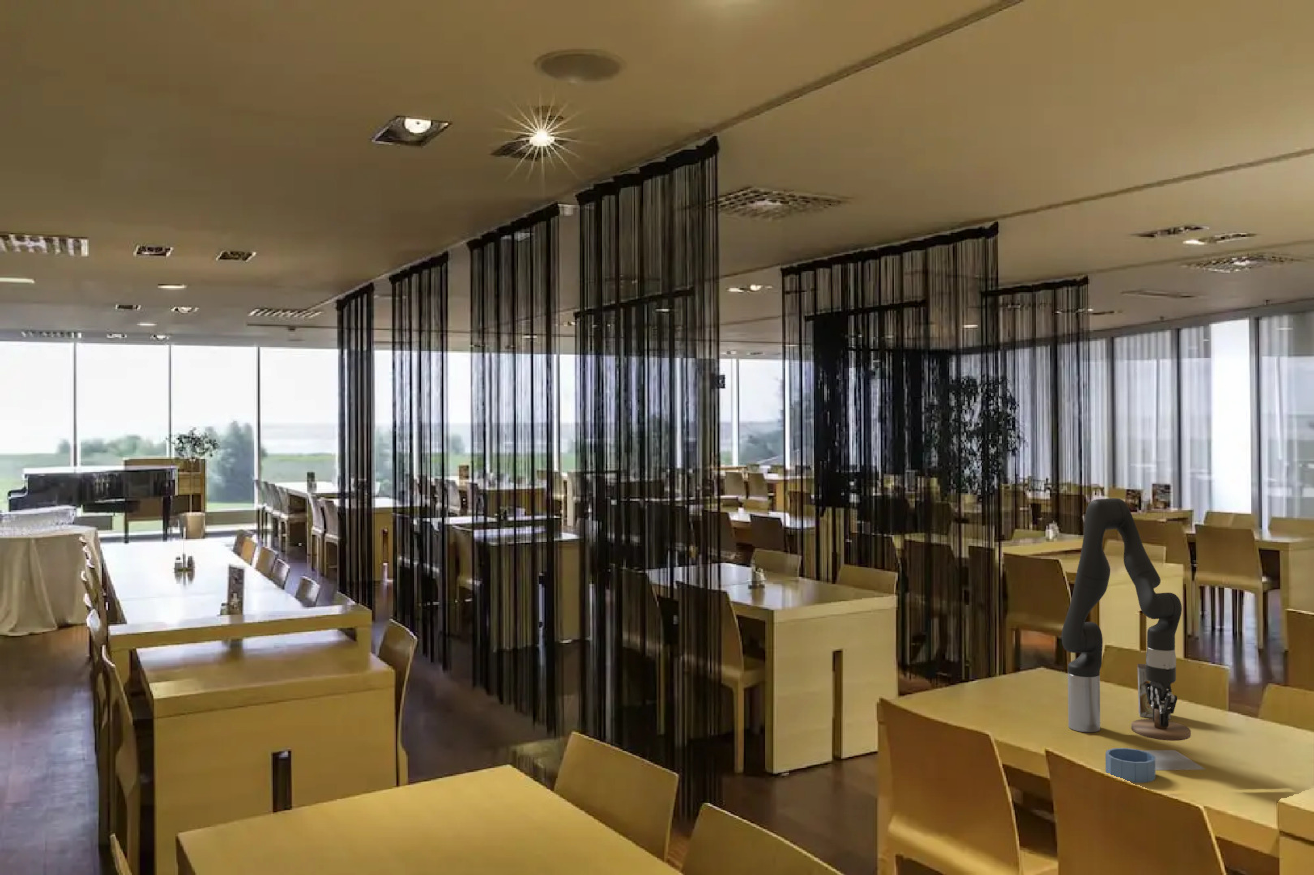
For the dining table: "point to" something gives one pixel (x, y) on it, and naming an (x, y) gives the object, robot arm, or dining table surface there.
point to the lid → (1160, 729)
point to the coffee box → (1144, 693)
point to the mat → (1172, 760)
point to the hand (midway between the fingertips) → (1160, 724)
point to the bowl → (1131, 764)
